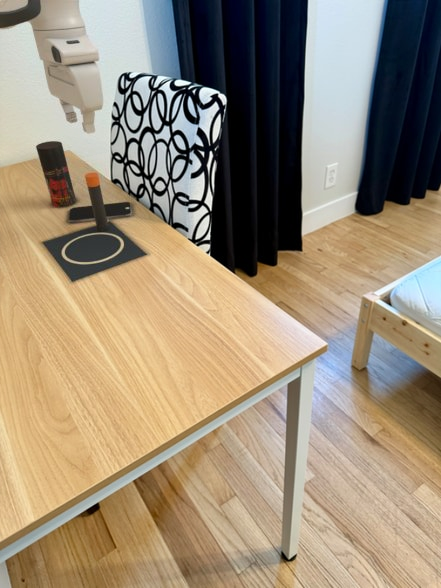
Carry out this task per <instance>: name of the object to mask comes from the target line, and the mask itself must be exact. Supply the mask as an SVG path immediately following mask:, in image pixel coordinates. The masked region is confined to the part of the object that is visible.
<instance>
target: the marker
mask: <svg viewBox="0 0 441 588" xmlns="http://www.w3.org/2000/svg"><path fill="white" fill-rule="evenodd" d="M84 179H85V181H86V186H87V191H88V195H89V199H90V202H91V206H92V208H93V213H94V217H95V221H94V222H95V226H97V230H98V231H99V232H105V231H108V230H109V226H108V222H109V221H108V219H107V217H106V212H105V207H104V204H105V202H104V198H103V194H102V189H101V185H100V184H101V183H100V178H99V174H98V172H87V173H86V174H85V175H84Z"/></svg>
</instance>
